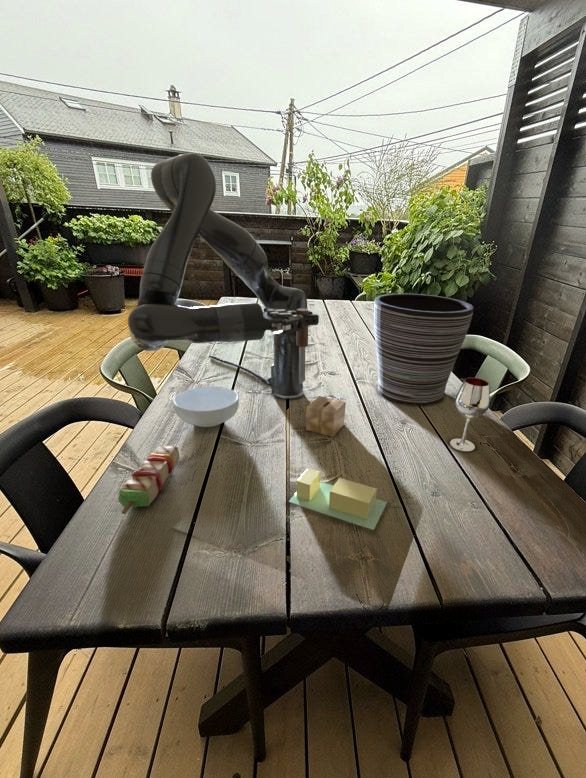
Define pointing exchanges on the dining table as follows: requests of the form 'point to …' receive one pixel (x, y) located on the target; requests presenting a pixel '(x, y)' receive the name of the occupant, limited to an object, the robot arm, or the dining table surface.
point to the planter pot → (418, 344)
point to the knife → (302, 345)
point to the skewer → (149, 478)
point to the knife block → (325, 416)
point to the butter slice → (308, 484)
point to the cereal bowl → (206, 405)
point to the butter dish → (324, 504)
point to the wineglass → (471, 407)
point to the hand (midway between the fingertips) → (314, 317)
